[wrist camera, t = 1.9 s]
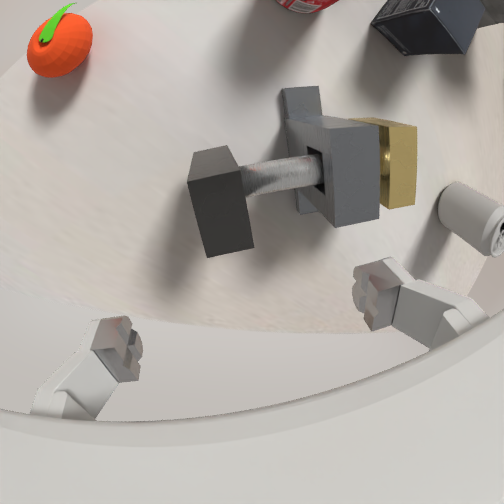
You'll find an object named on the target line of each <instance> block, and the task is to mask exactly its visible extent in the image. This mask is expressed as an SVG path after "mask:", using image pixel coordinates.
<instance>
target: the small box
mask: <svg viewBox="0 0 504 504" xmlns="http://www.w3.org/2000/svg"><path fill="white" fill-rule="evenodd" d="M484 10H485V8H484V6H483V5H482V3H481V2H480V0H388V1H387V2H386V4H385V5H384V6H383V7H382V9H381V10H380V11H379V13H378V14H377V15H376V17H375V18H374V20H373V21H372V22H371V24H372V25H373V26H374V27H375V28H376V29H378V30H379V31H380V32H381V33H382V34H383V35H384V36H385V37H386V38H387V39H388V40H389V41H390V42H391V43H392V44H393V45H394V46H395V47H396V48H397V49H398V50H399V51H400V52H401V53H402V54H403V55H404V56H408V55H423V54H466V51H467V49H468V47H469V45H470V43H471V40H472V38H473V36H474V34H475V31H476V29H477V27H478V24H479V22H480V20H481V17H482V15H483V13H484Z"/></svg>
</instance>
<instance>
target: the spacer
mask: <svg viewBox="0 0 504 504" xmlns="http://www.w3.org/2000/svg"><path fill="white" fill-rule="evenodd" d="M348 120H354V121H359V122H364V123H369V124H373V125H378V126H379V146H380V204H382V205H383V206H385V207H386V208H387V209H394V208H399V207H404V206H409V205H415V194H416V177H417V127H416V126H412V125H407V124H403V123H398V122H394V121H389V120H384V119H378V118H351V119H348Z"/></svg>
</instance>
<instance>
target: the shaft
mask: <svg viewBox="0 0 504 504" xmlns="http://www.w3.org/2000/svg"><path fill="white" fill-rule="evenodd" d="M322 183H325V182H324V168H323V156H322V153H319V154H311V155H304V156H297V157H291V158H284V159H278V160H272V161H266V162H261V163H255V164H250V165H245V166H239V167H238V165H237V163H236V161H235V159H234V157H233V155H232V153H231V152H230V150H229V148H228V146H227V145H226V146H221V147H216V148H212V149H207V150H203V151H198V152H194V154H193V158H192V162H191V166H190V171H189V175H188V179H187V184H188V188H189V192H190V196H191V200H192V204H193V208H194V211H195V215H196V219H197V223H198V227H199V230H200V234H201V238H202V241H203V245H204V249H205V252H206V256H207V258H210V257H214V256H219V255H223V254H228V253H233V252H237V251H242V250H246V249H251V248H254V243H253V238H252V232H251V226H250V221H249V215H248V210H247V204H246V199H245V198H246V197H251V196H256V195H261V194H267V193H272V192H277V191H282V190H288V189H293V188H299V187H305V186H310V185H316V184H322Z"/></svg>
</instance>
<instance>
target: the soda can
mask: <svg viewBox="0 0 504 504" xmlns="http://www.w3.org/2000/svg"><path fill="white" fill-rule="evenodd" d="M276 1H277V2H278V3H280V4H281V5H282V6H284V7H286V8H287V9H290V10H292V11H295V12H300V13H313V12H317V11H320V10H322V9H325V8H327V7H329V6H330V5H332V4H334V3H335V2H337V1H339V0H276Z"/></svg>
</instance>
